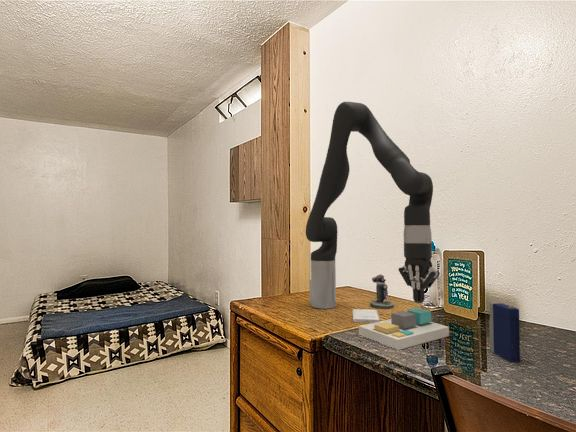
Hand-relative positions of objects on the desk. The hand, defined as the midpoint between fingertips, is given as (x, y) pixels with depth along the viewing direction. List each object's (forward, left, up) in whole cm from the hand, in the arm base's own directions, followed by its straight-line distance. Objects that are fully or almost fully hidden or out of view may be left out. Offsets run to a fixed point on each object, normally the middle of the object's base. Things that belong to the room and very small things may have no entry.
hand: (418, 302), depth 103 cm
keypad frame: (0, -6, -8) cm, 10 cm away
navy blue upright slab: (+23, +1, -9) cm, 24 cm away
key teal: (0, 0, -5) cm, 5 cm away
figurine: (-28, +14, -9) cm, 33 cm away
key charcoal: (0, -6, -5) cm, 8 cm away
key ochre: (0, -13, -8) cm, 15 cm away
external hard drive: (-20, -1, -9) cm, 22 cm away
